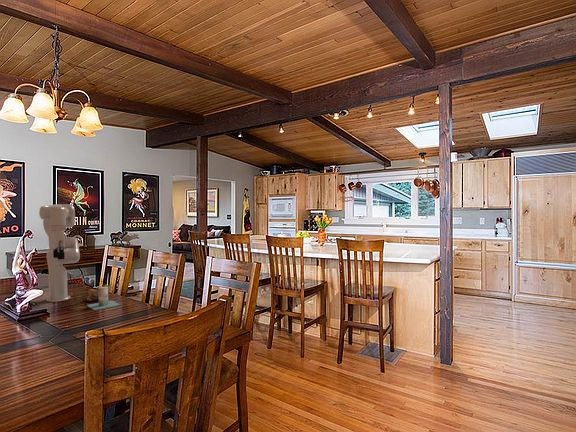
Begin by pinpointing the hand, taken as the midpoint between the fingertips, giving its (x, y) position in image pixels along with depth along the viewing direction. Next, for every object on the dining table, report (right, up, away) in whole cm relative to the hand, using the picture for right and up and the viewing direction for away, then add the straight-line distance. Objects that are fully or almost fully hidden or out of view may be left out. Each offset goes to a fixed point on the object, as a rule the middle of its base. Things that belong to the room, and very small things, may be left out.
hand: (58, 258), depth 198 cm
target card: (+23, -28, +5) cm, 36 cm away
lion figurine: (+12, -28, +18) cm, 36 cm away
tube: (+23, -28, +5) cm, 36 cm away
